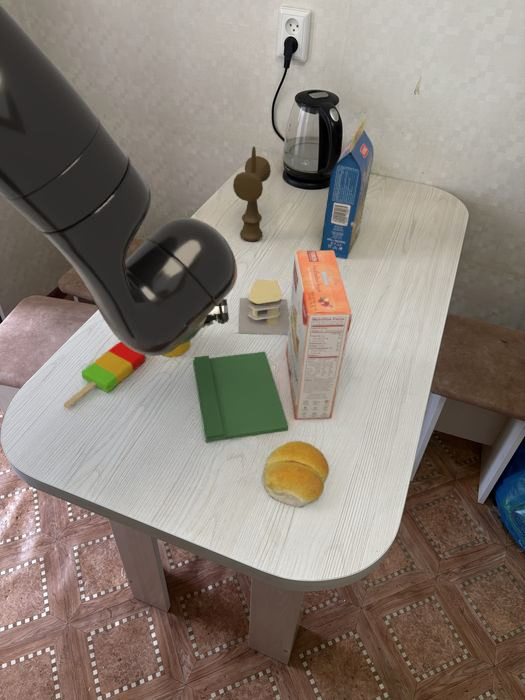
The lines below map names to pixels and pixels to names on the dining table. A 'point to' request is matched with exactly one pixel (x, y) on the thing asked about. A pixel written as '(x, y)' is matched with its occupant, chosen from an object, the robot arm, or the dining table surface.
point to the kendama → (252, 194)
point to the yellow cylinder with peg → (179, 350)
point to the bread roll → (295, 473)
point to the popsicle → (109, 370)
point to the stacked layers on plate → (264, 310)
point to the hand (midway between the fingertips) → (171, 321)
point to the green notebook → (238, 396)
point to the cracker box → (316, 333)
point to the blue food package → (347, 194)
